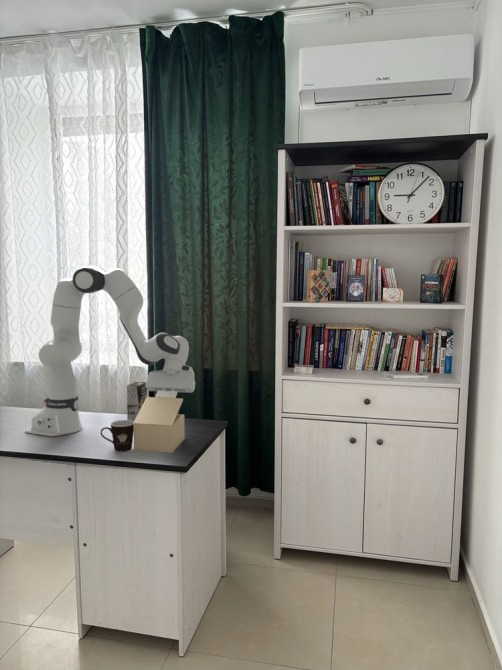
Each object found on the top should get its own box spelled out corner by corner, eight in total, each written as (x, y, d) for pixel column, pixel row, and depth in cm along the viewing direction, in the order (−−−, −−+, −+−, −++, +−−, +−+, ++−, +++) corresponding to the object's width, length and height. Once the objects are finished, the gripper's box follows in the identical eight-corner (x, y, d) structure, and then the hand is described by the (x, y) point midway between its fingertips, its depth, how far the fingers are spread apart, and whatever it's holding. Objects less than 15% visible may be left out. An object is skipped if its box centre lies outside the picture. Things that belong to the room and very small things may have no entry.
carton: (133, 450, 190) (133, 424, 189) (148, 436, 206) (148, 412, 205) (172, 452, 188) (172, 426, 187) (184, 438, 204) (184, 414, 203)
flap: (133, 424, 189) (132, 422, 189) (150, 392, 206) (149, 390, 206) (172, 426, 187) (171, 424, 186) (185, 393, 204) (185, 391, 203)
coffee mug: (138, 446, 195) (138, 420, 194) (128, 453, 187) (127, 427, 185) (111, 443, 198) (110, 418, 196) (99, 451, 189) (98, 425, 188)
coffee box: (140, 421, 228) (139, 386, 226) (126, 420, 229) (126, 385, 227) (148, 415, 237) (147, 381, 235) (135, 414, 238) (134, 381, 236)
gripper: (147, 366, 211) (140, 394, 203) (195, 367, 208) (189, 396, 200) (151, 374, 216) (144, 402, 208) (198, 376, 213) (192, 404, 205)
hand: (166, 399), depth 204 cm, fingers closed, pressing on flap
